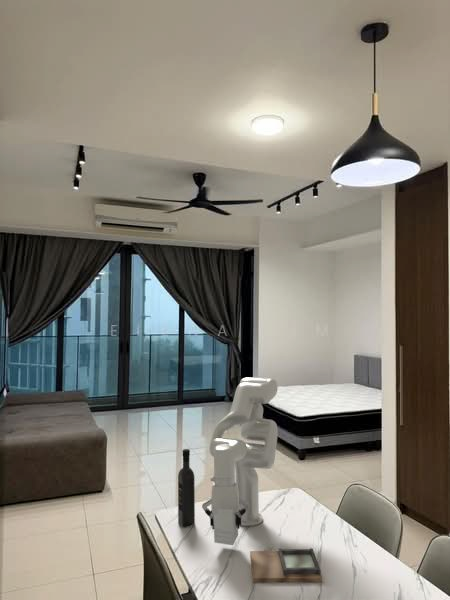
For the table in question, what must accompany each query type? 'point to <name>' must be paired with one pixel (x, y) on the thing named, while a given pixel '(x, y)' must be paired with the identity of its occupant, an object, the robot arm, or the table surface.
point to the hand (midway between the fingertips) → (225, 527)
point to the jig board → (285, 566)
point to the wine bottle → (186, 493)
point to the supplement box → (225, 526)
